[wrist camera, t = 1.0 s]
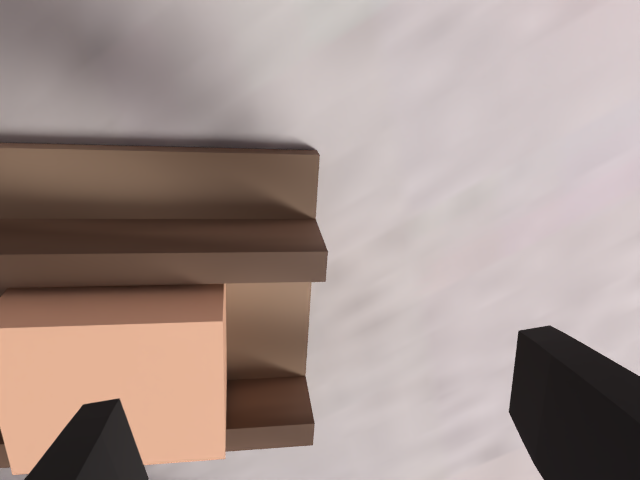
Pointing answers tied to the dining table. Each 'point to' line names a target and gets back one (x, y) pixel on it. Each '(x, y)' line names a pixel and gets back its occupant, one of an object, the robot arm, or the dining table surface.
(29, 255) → the chute
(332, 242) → the dining table surface
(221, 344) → the terracotta block
